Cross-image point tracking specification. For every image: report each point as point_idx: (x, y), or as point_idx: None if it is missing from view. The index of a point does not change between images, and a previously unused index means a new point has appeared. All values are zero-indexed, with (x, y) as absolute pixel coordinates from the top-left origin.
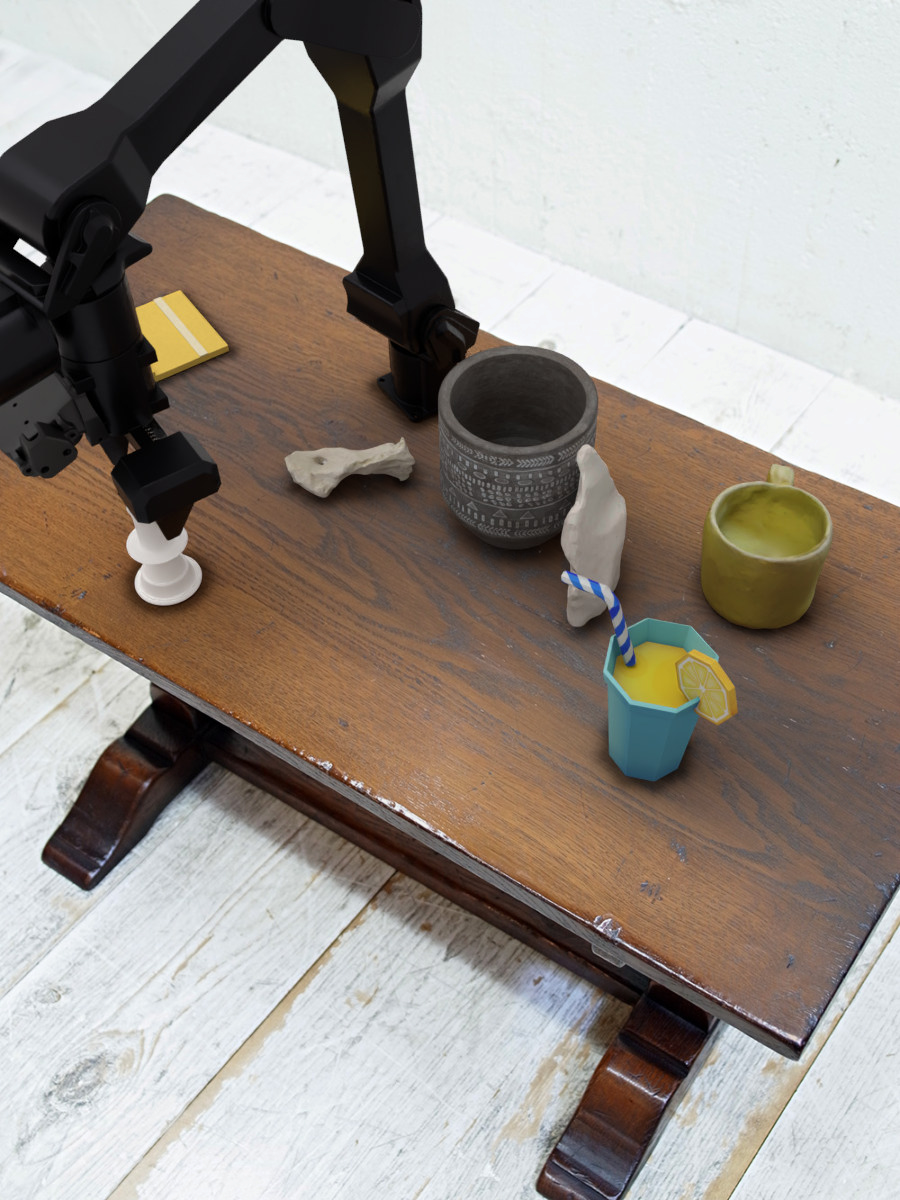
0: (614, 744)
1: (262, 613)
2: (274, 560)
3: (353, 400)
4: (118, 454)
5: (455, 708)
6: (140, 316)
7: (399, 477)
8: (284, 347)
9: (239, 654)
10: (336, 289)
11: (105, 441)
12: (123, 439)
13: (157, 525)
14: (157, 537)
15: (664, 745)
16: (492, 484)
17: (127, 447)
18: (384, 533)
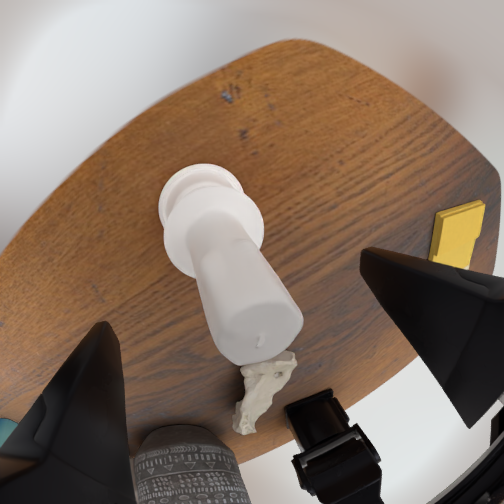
0: (2, 431)
1: (117, 294)
2: (187, 317)
3: (328, 376)
4: (374, 275)
5: (21, 383)
6: (467, 254)
7: (238, 403)
8: (395, 337)
9: (68, 262)
10: (405, 362)
11: (411, 282)
12: (393, 307)
13: (84, 355)
14: (191, 257)
15: None
16: (144, 499)
17: (377, 297)
18: (187, 389)
